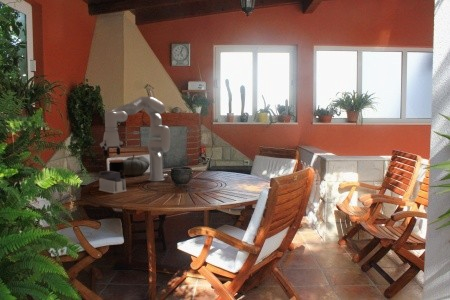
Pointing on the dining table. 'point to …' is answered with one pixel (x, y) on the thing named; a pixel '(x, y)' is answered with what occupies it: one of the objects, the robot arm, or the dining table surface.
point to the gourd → (135, 165)
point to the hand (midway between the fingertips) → (112, 155)
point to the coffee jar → (117, 167)
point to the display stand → (112, 186)
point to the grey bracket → (111, 175)
